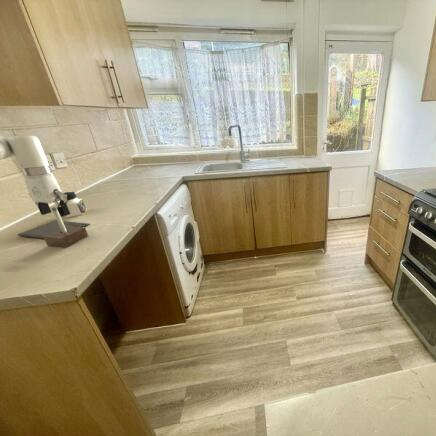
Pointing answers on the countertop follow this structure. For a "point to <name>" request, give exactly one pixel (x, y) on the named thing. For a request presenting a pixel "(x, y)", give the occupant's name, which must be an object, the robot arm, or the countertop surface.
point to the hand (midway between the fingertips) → (56, 214)
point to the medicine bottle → (74, 205)
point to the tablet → (49, 229)
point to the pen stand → (65, 237)
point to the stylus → (59, 219)
